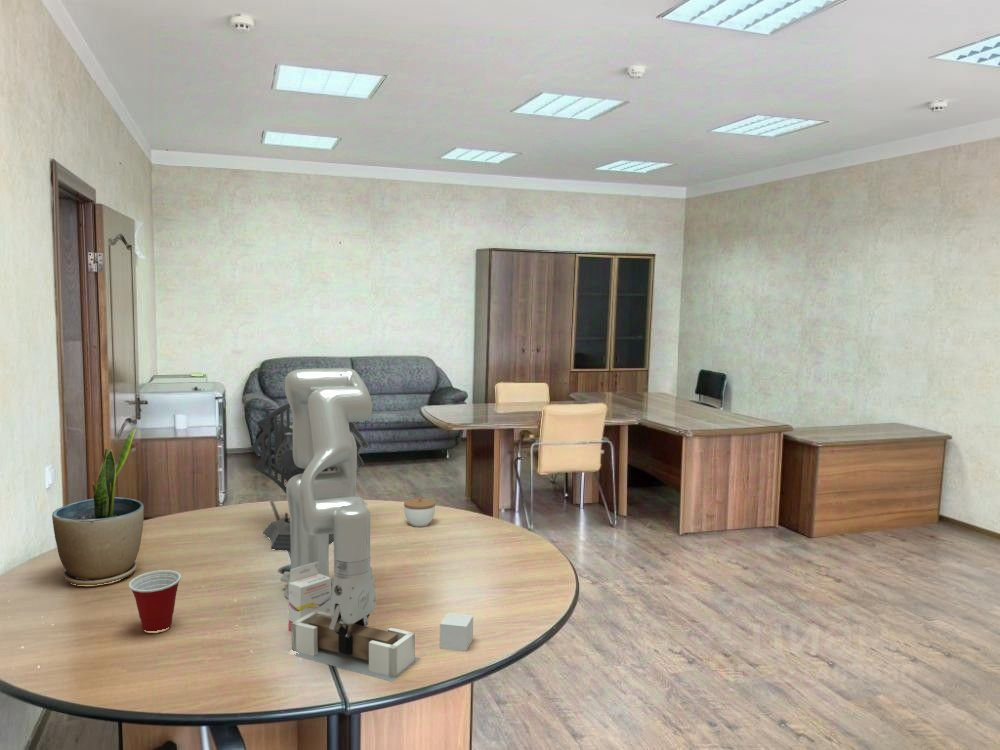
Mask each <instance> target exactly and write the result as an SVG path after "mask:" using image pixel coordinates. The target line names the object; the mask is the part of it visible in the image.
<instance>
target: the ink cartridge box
mask: <svg viewBox="0 0 1000 750" xmlns="http://www.w3.org/2000/svg"><path fill="white" fill-rule="evenodd" d="M304 569H310V570H309V571H308V572H304V573H301V574H300V571H303V570H304ZM289 572H290V578H289V599H288V632H291V623H293V622H295V621H297V620H299V619H300V618H302V617H304V616H306V615H307V614H309V613H311V612H313V611H315V610H318V611H322V612H326V613H331V583H332V578H331V577H330V576H329V577H327V576H325V575H322V574H319V562H314V563H311V564H307V565H304V566H300V567H297V568H294V569H291V568H290V570H289Z"/></svg>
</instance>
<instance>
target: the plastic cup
mask: <svg viewBox="0 0 1000 750" xmlns="http://www.w3.org/2000/svg"><path fill="white" fill-rule="evenodd" d="M181 579H182V576H181V573H179V572H178V571H176V570H171V569H164V570H163V569H158V570H153V571H148V572H145V573H143V574H139V575H137V576H135V577H134V578H132V579H131V580H130V581H129V582H128V587H129V589H131V591H132V593H133V597H134V599H135V602H136V603H135V604H136V607H137V612H138V615H139V616H138V617H139V619H140V623H141V628H142V630H146V631H157V630H162V629H166V628H168V627H170V626H172V622H173V615H174V612H175V605H176V597H177V591H178V587H179V582H180V580H181ZM170 628H171V627H170Z"/></svg>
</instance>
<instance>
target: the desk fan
mask: <svg viewBox="0 0 1000 750" xmlns="http://www.w3.org/2000/svg"><path fill="white" fill-rule="evenodd" d="M290 409H291V408H290V405H289V402H288V403H286V404H285V405H282V406H280V407H278V408H277V409H274V410H273V411H271V412H270V413H269V414H268V415H267V416H265V417H264V418H263V419H262V420H261V421H260V422H259V426H260V427H261V428H262V433H260V434H259V436H258V437H257V438H256V439H255V441H254V442H253V444H252V446H251V447H250V449H251V451H253V452H254V453H257V454H258V455H259V456H260V459H259V461H258V463H257V464H256V466H255V470H256V471H258V472H259V473H261V474H262V475H264V476H266V477H267V478H268V479H270V480H272V481H273V482H274V484H276V485H277V486H278V487H279V488H281V490H282V491H283V492H284V494H286V495H287V493H286V486H287V483H288V481H289V479H290V478H292V477H293V476H295V475H297V474H301V473H304V471H305V469H303V468H299V467H297V466H296V465H295V463H294V459H293V421H290ZM285 411H286V421H284V412H285ZM279 415H280V419H279V420H280V422H279V423H278V416H279ZM360 422H361V421H360ZM360 422H349V429H350V432H351V433H352V434H353V436H354V438H355V441H356V447H357V472H356V474H357V473H358V472H360V469H362V468H363V467H364V466H365V463H364V460H363V458H362V457H361V456H360V454H363V452H364V451H365V449H366V448H368V447H369V443H368V442H367V440H366V439H365V437H364V436H363V434H362V433H361V432H360V431H359V430H358V428H357V427H358V426H359V424H360ZM272 434H273V436H274V437H273V439H274V440H273V441H274V444H273V445H274V448H273V447H272ZM273 456H274V463H272V459H273ZM334 468H335V467H330V471H334V470H337V468H336V469H334ZM323 471H329V467H328V468H326V469H324V470H323ZM323 471H322V472H323ZM272 473H273V474H272ZM263 534H265V535H266V536H267V537H269V538H270V540H271V541H270V540H269V541H270V543H271V542H272V544H271V545H270V546H271V547H270V550H271V549H275V550H287V551H286V552H291V534H290V517H289V513H288V512H286V513H284V517H281V518H279V519H277V520H275V521H272V522H270V524H269V525H268V526H267V527H266V528H265V530H263V531H262V535H263ZM266 536H265V537H266ZM267 537H266V538H267ZM333 541H334V533H332V534H329V545H331V544H333V543H334V542H333ZM332 542H333V543H332Z"/></svg>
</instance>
